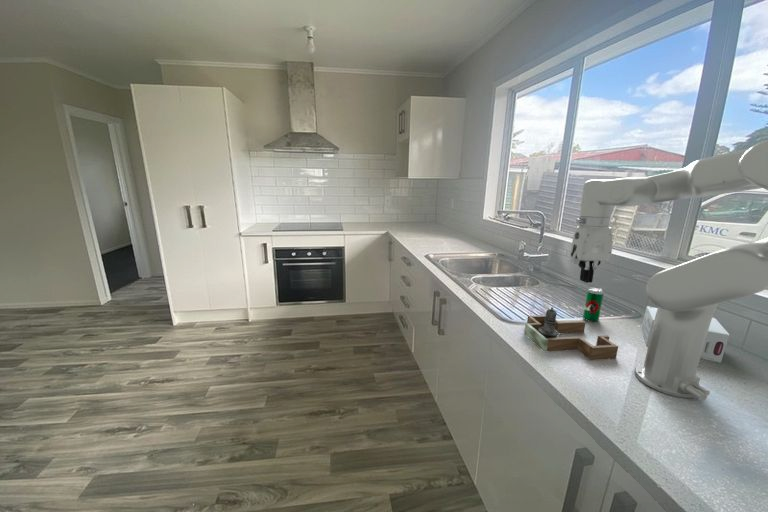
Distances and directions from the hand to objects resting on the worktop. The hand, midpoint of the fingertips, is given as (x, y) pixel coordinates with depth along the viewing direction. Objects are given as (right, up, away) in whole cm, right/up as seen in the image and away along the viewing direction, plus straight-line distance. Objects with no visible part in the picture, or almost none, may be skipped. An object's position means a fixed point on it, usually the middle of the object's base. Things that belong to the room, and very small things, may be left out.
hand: (585, 281), depth 93 cm
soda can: (+16, -16, +21) cm, 31 cm away
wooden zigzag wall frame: (-3, -20, +5) cm, 21 cm away
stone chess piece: (-9, -20, +5) cm, 23 cm away
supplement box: (+31, -21, +3) cm, 38 cm away
